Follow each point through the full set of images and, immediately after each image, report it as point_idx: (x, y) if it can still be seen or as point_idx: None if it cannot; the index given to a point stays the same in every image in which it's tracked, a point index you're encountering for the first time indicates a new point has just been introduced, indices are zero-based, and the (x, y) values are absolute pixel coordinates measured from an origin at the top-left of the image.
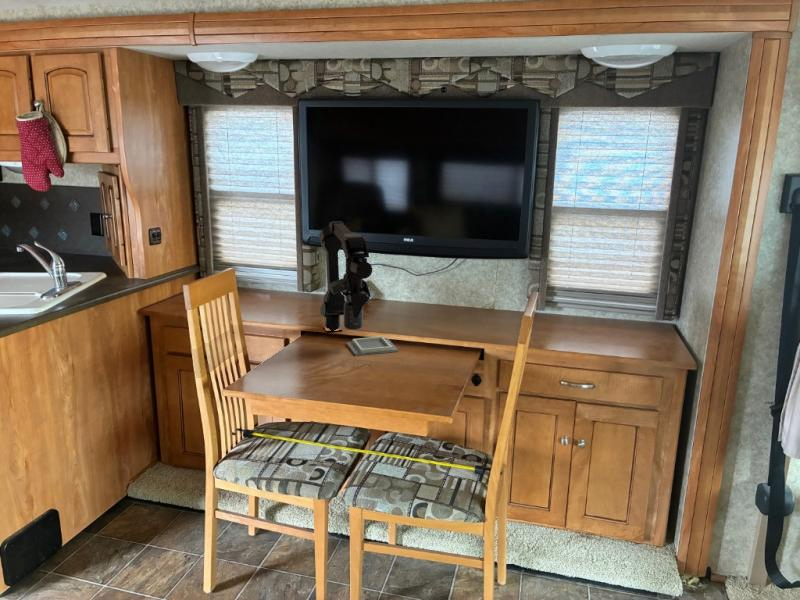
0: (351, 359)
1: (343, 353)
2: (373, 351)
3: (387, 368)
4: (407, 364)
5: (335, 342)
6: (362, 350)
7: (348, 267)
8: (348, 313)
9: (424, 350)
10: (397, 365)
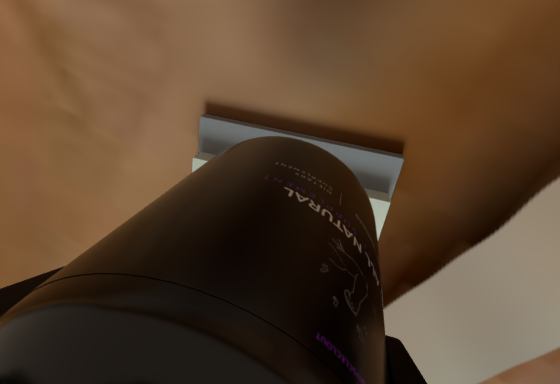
0: (162, 69)
1: (266, 66)
2: None
3: (31, 173)
4: (63, 258)
5: (487, 105)
6: (194, 163)
7: None
8: (115, 229)
9: None
10: (57, 223)
